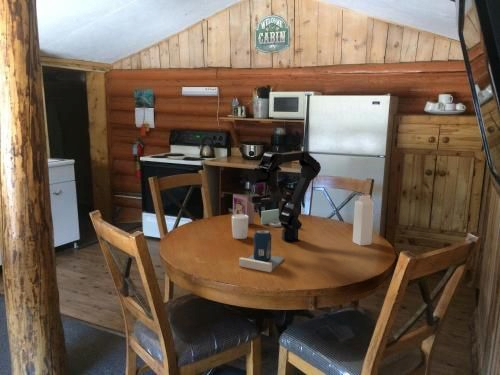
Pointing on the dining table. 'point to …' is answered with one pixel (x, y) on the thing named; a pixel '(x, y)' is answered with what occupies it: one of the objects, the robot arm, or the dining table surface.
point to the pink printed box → (243, 207)
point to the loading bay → (260, 263)
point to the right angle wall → (270, 218)
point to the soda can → (262, 245)
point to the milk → (363, 220)
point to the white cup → (239, 226)
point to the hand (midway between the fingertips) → (270, 216)
